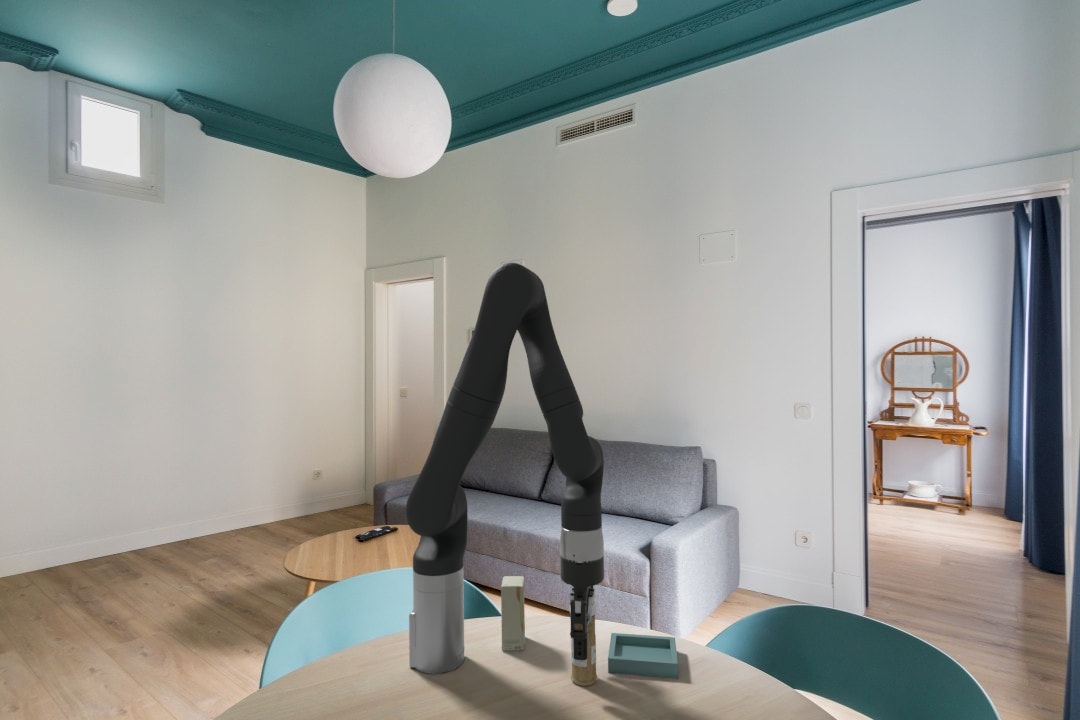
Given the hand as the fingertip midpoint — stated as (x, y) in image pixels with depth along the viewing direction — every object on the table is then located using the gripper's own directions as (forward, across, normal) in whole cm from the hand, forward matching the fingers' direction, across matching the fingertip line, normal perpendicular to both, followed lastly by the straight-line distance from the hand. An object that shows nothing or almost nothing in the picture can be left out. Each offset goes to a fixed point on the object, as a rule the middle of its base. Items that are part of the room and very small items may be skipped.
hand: (583, 646), depth 99 cm
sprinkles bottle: (+6, 0, 0) cm, 6 cm away
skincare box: (+6, -11, -15) cm, 19 cm away
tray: (+6, -8, +10) cm, 14 cm away
